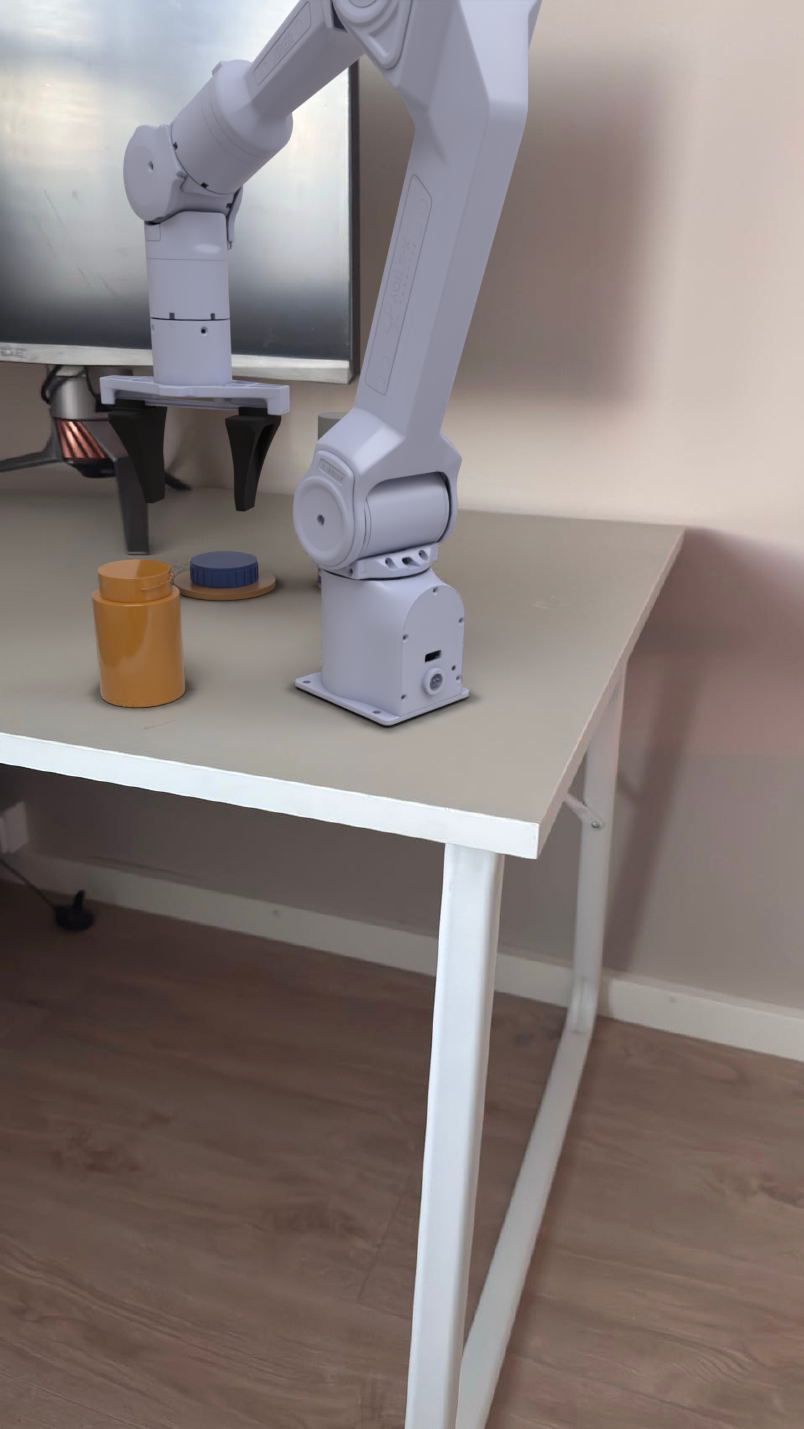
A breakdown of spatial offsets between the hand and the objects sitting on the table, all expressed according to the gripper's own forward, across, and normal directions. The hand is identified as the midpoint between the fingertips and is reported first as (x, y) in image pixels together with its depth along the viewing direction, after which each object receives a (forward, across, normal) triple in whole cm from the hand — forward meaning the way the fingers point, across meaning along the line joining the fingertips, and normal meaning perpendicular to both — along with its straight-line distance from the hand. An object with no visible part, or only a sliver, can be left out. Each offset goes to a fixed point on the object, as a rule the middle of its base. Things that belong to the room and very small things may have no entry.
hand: (199, 504), depth 83 cm
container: (+10, +8, +13) cm, 18 cm away
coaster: (+9, -3, +10) cm, 14 cm away
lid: (+7, -3, +10) cm, 12 cm away
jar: (+9, +3, -15) cm, 18 cm away
